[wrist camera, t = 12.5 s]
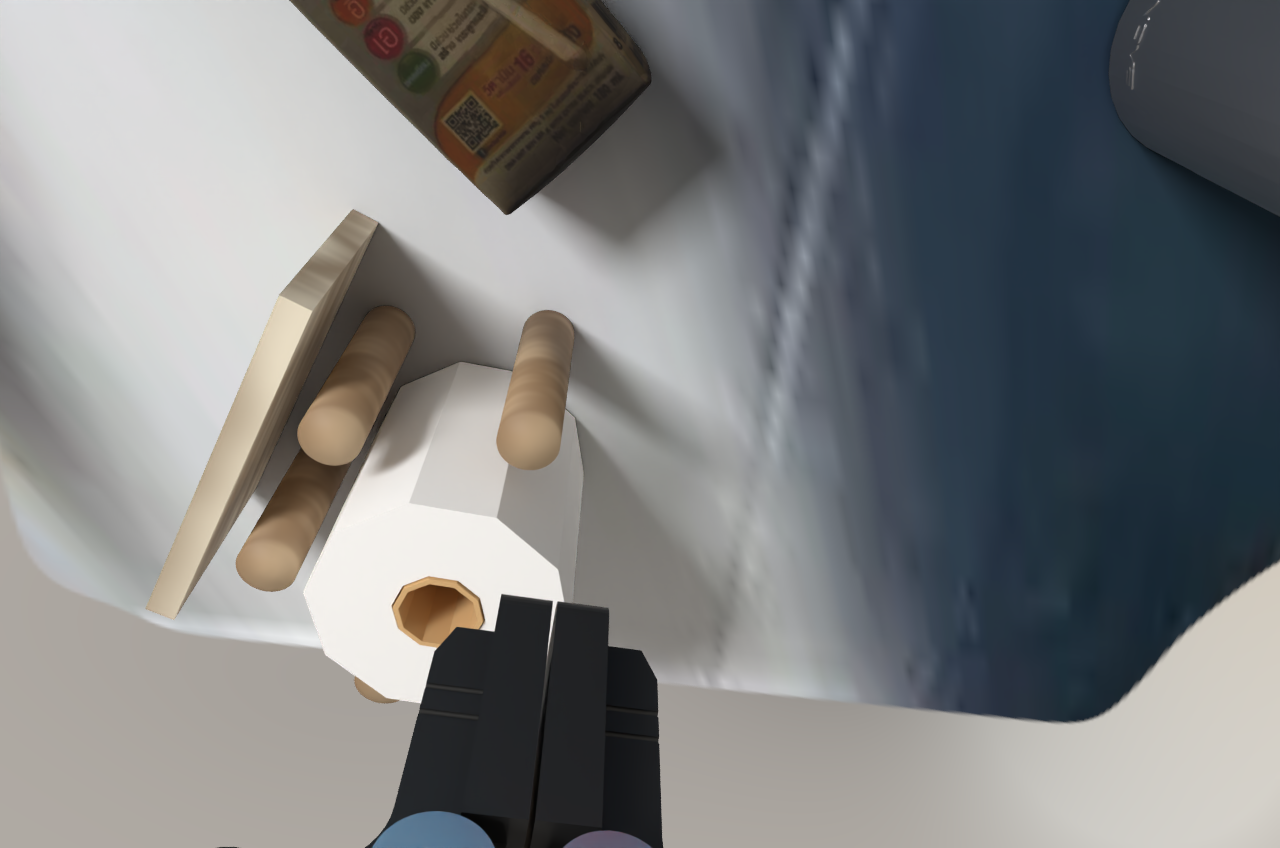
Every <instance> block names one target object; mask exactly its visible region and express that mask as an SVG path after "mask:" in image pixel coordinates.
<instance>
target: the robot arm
mask: <svg viewBox="0 0 1280 848" xmlns="http://www.w3.org/2000/svg"><path fill="white" fill-rule="evenodd" d="M1109 81H1110V90H1111V97H1112V100H1113V103H1114V105H1115V108H1116V111H1117V113H1118V116H1119V118H1120V120H1121V121H1122V122H1123V124H1124V125H1125V127H1126V128H1127V130H1128V131H1129V132H1130V134H1131V135H1132V136H1133V137H1135V138H1136V139H1137V140H1138V141H1139V142H1141V143H1142V144H1143V145H1144V146H1146V147H1147V148H1149V149H1151V150H1153V151H1155V152H1156V153H1158V154H1160V155H1162V156H1164V157H1166V158H1168V159H1170V160H1172V161H1174V162H1176V163H1178V164H1180V165H1182V166H1184V167H1186V168H1187V169H1189V170H1191V171H1193V172H1194V173H1196V174H1198V175H1200V176H1202V177H1204V178H1206V179H1208V180H1210V181H1211V182H1213V183H1215V184H1217V185H1219V186H1221V187H1223V188H1225V189H1227V190H1229V191H1231V192H1233V193H1235V194H1237V195H1239V196H1241V197H1243V198H1244V199H1246V200H1248V201H1250V202H1252V203H1254V204H1256V205H1258V206H1260V207H1262V208H1264V209H1266V210H1268V211H1270V212H1272V213H1274V214H1276V215H1277V216H1279V217H1280V0H1130V1H1129V3H1128V5H1127V7H1126V9H1125V11H1124V13H1123V15H1122V17H1121V19H1120V21H1119V23H1118V27H1117V30H1116V33H1115V37H1114V40H1113V44H1112V47H1111V54H1110V64H1109ZM552 607H553V601H551V600H543V599H536V598H528V597H521V596H514V595H506V594H501V598H500V604H499V609H498V615H497V620H496V625H495V631H486V630H479V629H471V628H464V627H456V628H455V629H454V630H453V631H452V632H451V634H450V635H449V636H448V637H447V638H446V639H445V640H444V641H443V642H442V644H441V645H440V646H439V647H438V648H437V649H436V650H435V651H434V655H433V658H432V662H431V666H430V670H429V674H428V678H427V682H426V687H425V689H424V693H423V697H422V701H421V705H420V710H419V714H418V717H417V720H416V724H415V728H414V732H413V736H412V740H411V744H410V748H409V752H408V755H407V759H406V763H405V767H404V771H403V775H402V779H401V783H400V787H399V791H398V795H397V798H396V802H395V806H394V809H393V812H392V815H391V818H390V819H389V821H388V823H387V825H386V826H385V828H384V829H383V830H382V832H381V833H380V834H379V836H378V837H377V838H376V839H374V840H373V841H372V842H371V843H370V844H369V845H368V846H366V847H365V848H663V842H662V819H661V788H660V757H659V743H658V739H659V724H658V717H657V715H658V690H657V679H656V677H655V675H654V673H653V671H652V669H651V668H650V666H649V664H648V662H647V660H646V658H645V656H644V655H643V653H642V651H640V650H633V649H625V648H618V647H610V646H608V631H609V609H608V608H604V607H597V606H589V605H582V604H574V603H567V602H560V601H557V604H556V609H555V615H554V620H553V626H552V632H551V637H550V643H549V634H550V625H551V616H552ZM548 643H549V649H548ZM547 652H548V654H547ZM219 848H237V847H219Z"/></svg>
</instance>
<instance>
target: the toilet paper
mask: <svg viewBox="0 0 1280 848" xmlns="http://www.w3.org/2000/svg"><path fill="white" fill-rule="evenodd" d="M512 372H513V371H508V370H503V369H498V368H492V367H487V366H481V365H476V364H471V363H465V362H458V363H456V364H453V365H451V366H449V367H446V368H444V369H442V370H439V371H437V372H434V373H432V374H430V375H427V376H425V377H423V378H420V379H418V380H415V381H413V382H411V383H408V384H406V385H404V386H401V388H400V390H399V392H398V394H397V396H396V398H395V399H394V401H393V403H392V405H391V407H390V409H389V411H388V413H387V415H386V417H385V419H384V421H383V423H382V425H381V427H380V429H379V431H378V433H377V435H376V437H375V439H374V441H373V443H372V445H371V447H370V449H369V452H368V454H367V456H366V458H365V460H364V462H363V464H362V467H361V469H360V471H359V473H358V475H357V477H356V479H355V482H354V484H353V486H352V488H351V490H350V492H349V494H348V497H347V499H346V501H345V503H344V505H343V507H342V509H341V512H340V514H339V516H338V518H337V520H336V522H335V524H334V527H333V529H332V531H331V533H330V535H329V537H328V539H327V542H326V544H325V546H324V548H323V550H322V552H321V554H320V557H319V559H318V561H317V563H316V565H315V567H314V569H313V572H312V574H311V576H310V578H309V580H308V582H307V584H306V587H305V589H304V591H303V593H304V596H305V599H306V602H307V605H308V608H309V610H310V613H311V616H312V619H313V622H314V625H315V627H316V630H317V633H318V636H319V639H320V642H321V644H322V647H323V650H324V653H325V655H326V656H328V657H329V658H331V659H332V660H333V661H335V662H336V663H338V664H339V665H341V666H342V667H343V668H345V669H346V670H348V671H349V672H350V673H352V674H353V675H355V676H356V677H357V678H359V679H360V680H362V681H363V682H365V683H366V684H367V685H369V686H370V687H372V688H373V689H374V690H376V691H377V692H379V693H380V694H382V695H383V696H384V697H386V698H389V699H396V700H403V701H410V702H417V703H421V701H422V697H423V693H424V689H425V687H426V682H427V678H428V674H429V670H430V666H431V662H432V658H433V655H434V651H435V650H436V649H437V648H438V647H439V646H440V645H441V644H442V642H443V641H444V640H445V639H446V638H447V637H448V636H449V635H450V634H451V632H452V631H453V630H454V629H455V628H456V627H464V628H471V629H479V630H486V631H495V625H496V620H497V615H498V609H499V604H500V598H501V594H506V595H514V596H521V597H528V598H536V599H543V600H551V601H553V607H552V616H551V625H550V634H549V643H550V637H551V632H552V626H553V620H554V615H555V609H556V604H557V601H560V602H567V603H573V595H574V583H575V572H576V560H577V548H578V536H579V525H580V513H581V501H582V490H583V478H584V471H583V465H582V459H581V452H580V446H579V440H578V434H577V427H576V421H575V418H574V417H573V416H572V415H571V414H570V413H569V412H568V411H567V410H566V409H565V414H564V422H563V430H562V437H561V445H560V451H559V453H558V455H557V457H556V459H555V460H554V461H553V462H552V463H551V464H549V465H548V466H546V467H544V468H541V469H538V470H522V469H519V468H516V467H514V466H512V465H510V464H509V463H507V462H506V461H505V460H504V459H503V458H502V457H501V455H500V453H499V451H498V449H497V444H496V438H497V433H498V429H499V425H500V421H501V417H502V413H503V409H504V405H505V401H506V397H507V392H508V388H509V384H510V380H511V376H512ZM549 643H548V649H549ZM547 654H548V652H547Z"/></svg>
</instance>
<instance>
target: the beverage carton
mask: <svg viewBox="0 0 1280 848" xmlns="http://www.w3.org/2000/svg"><path fill="white" fill-rule="evenodd" d="M290 1H291V2H292V3H293V4H294V5H295V6H296V7H297V9H298V10H299V11H300V12H301V13H302V14H303V15H304V16H305V17H306V18H307V19H308V20H309V21H310V22H311V23H312V24H313V25H314V26H315V27H316V28H317V29H318V30H319V31H320V32H321V33H322V34H323V35H324V36H325V37H326V38H327V39H328V40H329V41H330V42H331V43H332V44H333V45H334V46H335V47H336V48H337V49H338V50H339V52H340V53H341V54H342V55H343V56H344V57H345V58H346V59H347V60H348V61H349V62H350V63H351V64H352V65H353V66H354V67H355V68H356V69H357V70H358V71H359V72H360V73H361V74H362V75H363V76H364V77H365V78H366V79H367V80H368V81H369V82H370V83H371V84H372V85H373V86H374V87H375V88H376V89H377V90H378V91H379V92H380V93H381V94H382V95H383V96H384V97H385V98H386V99H387V100H388V101H389V102H390V103H391V104H392V105H393V106H394V107H395V108H396V109H397V110H398V111H399V112H400V113H401V114H402V115H403V116H404V117H405V118H407V119H408V120H409V121H410V122H411V123H412V124H413V125H414V126H415V127H416V128H417V129H418V130H419V131H420V132H421V133H422V134H423V135H424V136H425V137H426V138H427V139H428V140H429V141H430V142H431V143H432V144H433V145H434V146H435V147H436V148H437V149H438V150H439V151H440V152H441V153H442V154H443V155H444V157H445V158H446V159H447V160H449V161H450V162H451V163H452V164H453V165H454V166H455V167H456V168H458V169H459V170H460V171H461V172H462V173H463V174H464V175H465V176H466V177H467V178H468V179H469V180H470V181H471V182H472V183H473V184H474V185H475V186H476V187H477V188H478V189H479V190H480V191H481V192H482V193H483V194H484V195H485V196H486V197H487V198H489V199H490V200H491V201H492V202H493V203H494V204H495V205H496V206H497V207H498V208H499V209H500V210H501V211H502V212H503V213H504V214H505V215H508V214H511V213H512V212H513V211H515V210H516V209H517V208H519V207H520V206H521V205H522V204H524V203H525V202H526V201H528V200H529V199H530V198H532V197H533V196H534V195H535V194H537V193H538V192H539V191H540V190H541V189H543V188H544V187H545V186H546V185H547V184H549V183H550V182H551V181H552V180H553V179H554V178H556V177H557V176H558V175H559V174H560V173H561V172H562V171H564V170H565V169H566V168H567V167H568V166H569V165H570V164H571V163H572V162H573V161H574V160H576V159H577V158H578V157H579V156H580V155H581V154H582V153H583V152H584V151H585V150H586V149H587V148H588V147H589V146H591V145H592V144H593V143H594V142H595V141H596V140H597V139H598V138H599V137H600V136H601V135H602V134H603V133H604V132H605V131H606V130H607V129H608V128H609V127H610V126H611V125H612V124H613V123H614V122H615V121H616V120H617V119H618V118H619V117H620V116H621V115H622V114H623V113H624V112H625V111H626V110H627V108H628V107H629V106H630V105H631V104H632V103H633V102H634V101H635V100H636V99H637V98H638V97H639V96H640V95H641V94H642V92H643V91H644V90H645V89H646V88H647V87H648V86H649V85H650V83H651V71H650V69H649V65H648V62H647V60H646V58H645V56H644V55H643V53H642V52H641V50H640V49H639V47H638V46H637V45H636V44H635V42H634V41H633V40H632V39H631V38H630V36H629V35H628V34H627V32H626V31H625V29H624V28H623V27H622V26H621V24H620V23H619V22H618V21H617V20H616V19H615V17H614V16H613V15H612V14H611V13H610V11H609V10H608V9H607V8H606V6H605V5H604V4H603V3H602V2H601V0H290Z"/></svg>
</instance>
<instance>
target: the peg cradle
mask: <svg viewBox="0 0 1280 848" xmlns="http://www.w3.org/2000/svg"><path fill="white" fill-rule="evenodd" d="M377 225H378V222H376V221H374V220H373V219H371V218H369V217H367V216H365V215H363V214H361V213H359V212H357V211H355V210H353V209H352V211H351V212H350V213H349V214H348V215H347V216H346V218H345V219H344V220H343V221H342V222H341V223H340V225H339V226H338V227H337V228H336V229H335V230H334V232H333V233H332V234H331V235H330V236H329V237H328V239H327V240H326V241H325V242H324V243H323V244H322V246H321V247H320V248H319V249H318V250H317V251H316V253H315V254H314V255H313V256H312V257H311V258H310V260H309V261H308V262H307V263H306V264H305V265H304V267H303V268H302V269H301V270H300V271H299V272H298V274H297V275H296V276H295V277H294V278H293V279H292V281H291V282H290V283H289V284H288V285H287V286H286V288H285V289H284V290H283V291H282V292H281V293H280V295H279V297H278V299H277V301H276V304H275V306H274V308H273V311H272V313H271V315H270V318H269V320H268V322H267V325H266V327H265V329H264V332H263V334H262V337H261V339H260V341H259V344H258V346H257V348H256V351H255V353H254V355H253V358H252V360H251V362H250V365H249V367H248V369H247V372H246V374H245V376H244V379H243V381H242V383H241V386H240V388H239V390H238V393H237V395H236V398H235V400H234V402H233V405H232V407H231V409H230V412H229V414H228V416H227V419H226V421H225V423H224V426H223V428H222V430H221V433H220V435H219V437H218V440H217V442H216V444H215V447H214V449H213V452H212V454H211V456H210V459H209V461H208V463H207V466H206V468H205V470H204V473H203V475H202V477H201V480H200V482H199V484H198V487H197V489H196V491H195V494H194V496H193V498H192V501H191V503H190V505H189V508H188V510H187V513H186V515H185V517H184V520H183V522H182V524H181V527H180V529H179V531H178V534H177V536H176V538H175V541H174V543H173V545H172V548H171V550H170V552H169V555H168V557H167V559H166V562H165V564H164V567H163V569H162V571H161V574H160V576H159V578H158V581H157V583H156V585H155V588H154V590H153V592H152V595H151V597H150V599H149V602H148V604H147V606H146V609H147V610H150V611H152V612H155V613H157V614H160V615H162V616H165V617H168V618H170V619H173V620H174V619H175V618H176V616H177V614H178V613H179V611H180V610H181V608H182V606H183V605H184V603H185V602H186V600H187V598H188V597H189V595H190V594H191V592H192V590H193V589H194V587H195V586H196V584H197V582H198V581H199V579H200V578H201V576H202V574H203V573H204V571H205V569H206V568H207V566H208V565H209V563H210V561H211V560H212V558H213V557H214V555H215V553H216V552H217V550H218V549H219V547H220V545H221V544H222V542H223V541H224V539H225V537H226V536H227V534H228V533H229V531H230V529H231V528H232V526H233V524H234V523H235V521H236V520H237V518H238V516H239V515H240V513H241V512H242V510H243V508H244V507H245V505H246V504H247V502H248V500H249V499H250V497H251V496H252V494H253V492H254V491H255V489H256V487H257V485H258V483H259V481H260V478H261V476H262V474H263V472H264V470H265V468H266V465H267V463H268V461H269V459H270V457H271V455H272V452H273V450H274V448H275V446H276V444H277V442H278V439H279V437H280V435H281V433H282V431H283V429H284V426H285V424H286V422H287V420H288V418H289V416H290V413H291V411H292V409H293V407H294V405H295V403H296V400H297V398H298V396H299V394H300V392H301V390H302V387H303V385H304V383H305V381H306V379H307V377H308V374H309V372H310V370H311V368H312V366H313V364H314V361H315V359H316V357H317V355H318V353H319V351H320V348H321V346H322V344H323V342H324V340H325V338H326V335H327V333H328V331H329V329H330V327H331V325H332V322H333V320H334V318H335V316H336V314H337V312H338V309H339V307H340V305H341V303H342V301H343V299H344V296H345V294H346V292H347V290H348V288H349V286H350V283H351V281H352V279H353V277H354V275H355V273H356V270H357V268H358V266H359V264H360V262H361V260H362V257H363V255H364V253H365V251H366V249H367V247H368V244H369V242H370V240H371V238H372V236H373V234H374V231H375V229H376V227H377ZM414 337H415V327H414V324H413V322H412V320H411V318H410V317H409V316H408V315H407V314H406V313H405V312H404V311H402V310H400V309H398V308H396V307H393V306H379V307H376V308H374V309H372V310H371V311H370V312H369V313H368V314H367V315H366V317H365V318H364V320H363V321H362V323H361V325H360V326H359V328H358V330H357V331H356V333H355V334H354V336H353V338H352V339H351V341H350V343H349V344H348V346H347V347H346V349H345V351H344V352H343V354H342V355H341V357H340V359H339V360H338V362H337V364H336V365H335V367H334V368H333V370H332V372H331V373H330V375H329V377H328V378H327V380H326V381H325V383H324V385H323V386H322V388H321V390H320V391H319V393H318V394H317V396H316V398H315V399H314V401H313V403H312V404H311V406H310V407H309V409H308V411H307V412H306V414H305V416H304V417H303V419H302V420H301V422H300V424H299V426H298V431H297V436H298V441H299V444H300V446H301V449H300V450H299V452H298V454H297V455H296V457H295V459H294V461H293V462H292V464H291V466H290V467H289V469H288V471H287V472H286V474H285V476H284V478H283V479H282V481H281V483H280V484H279V486H278V488H277V489H276V491H275V493H274V495H273V496H272V498H271V500H270V501H269V503H268V505H267V507H266V508H265V510H264V512H263V513H262V515H261V517H260V518H259V520H258V522H257V524H256V525H255V527H254V529H253V530H252V532H251V534H250V535H249V537H248V539H247V541H246V542H245V544H244V546H243V547H242V549H241V551H240V553H239V554H238V556H237V559H236V569H237V572H238V574H239V575H240V577H241V578H242V579H243V580H244V581H245V582H246V583H247V584H249V585H250V586H252V587H254V588H256V589H259V590H263V591H270V592H273V591H280V590H283V589H286V588H287V587H289V586H290V585H291V584H292V583H293V582H294V580H295V578H296V576H297V574H298V572H299V570H300V568H301V566H302V564H303V561H304V559H305V557H306V555H307V553H308V551H309V549H310V547H311V545H312V543H313V541H314V539H315V537H316V535H317V533H318V531H319V528H320V526H321V524H322V522H323V520H324V518H325V516H326V514H327V512H328V510H329V508H330V506H331V504H332V502H333V500H334V498H335V495H336V493H337V491H338V489H339V487H340V485H341V483H342V481H343V479H344V477H345V475H346V473H347V471H348V469H349V467H350V465H351V463H352V460H354V459H355V458H356V457H357V456H358V455H359V453H360V451H361V449H362V447H363V445H364V443H365V441H366V439H367V437H368V435H369V432H370V430H371V428H372V426H373V424H374V422H375V420H376V418H377V416H378V414H379V412H380V409H381V407H382V405H383V403H384V401H385V399H386V397H387V395H388V393H389V391H390V389H391V387H392V384H393V382H394V380H395V378H396V376H397V374H398V372H399V370H400V368H401V366H402V364H403V361H404V359H405V357H406V355H407V353H408V351H409V349H410V347H411V345H412V343H413V340H414ZM573 344H574V329H573V326H572V324H571V322H570V321H569V320H568V319H567V318H566V317H565V316H564V315H562V314H561V313H559V312H556V311H551V310H544V311H539V312H537V313H535V314H533V315H532V316H530V317H529V318H528V319H527V321H526V322H525V324H524V327H523V331H522V335H521V339H520V344H519V348H518V352H517V356H516V360H515V364H514V368H513V372H512V376H511V380H510V384H509V388H508V392H507V397H506V401H505V405H504V409H503V413H502V417H501V421H500V425H499V429H498V433H497V438H496V444H497V449H498V451H499V453H500V455H501V457H502V458H503V459H504V460H505V461H506V462H507V463H509V464H510V465H512V466H514V467H516V468H519V469H522V470H538V469H541V468H544V467H546V466H548V465H549V464H551V463H552V462H553V461H554V460H555V459H556V457H557V455H558V453H559V451H560V445H561V437H562V430H563V422H564V414H565V406H566V398H567V391H568V383H569V375H570V367H571V359H572V352H573ZM355 686H356V688H357V690H358V691H359V692H360V694H361V695H363V696H364V697H365V698H367V699H369V700H371V701H374V702H378V703H393V702H397V701H399V700H396V699H389V698H386V697H384V696H383V695H382V694H380V693H379V692H377V691H376V690H374V689H373V688H372V687H370V686H369V685H367V684H366V683H365V682H363V681H362V680H360V679H359V678H357V677H356V676H355Z"/></svg>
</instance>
